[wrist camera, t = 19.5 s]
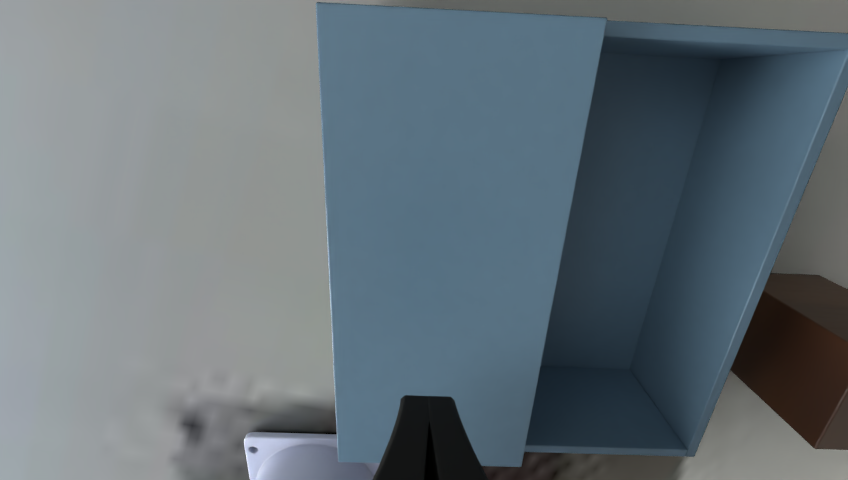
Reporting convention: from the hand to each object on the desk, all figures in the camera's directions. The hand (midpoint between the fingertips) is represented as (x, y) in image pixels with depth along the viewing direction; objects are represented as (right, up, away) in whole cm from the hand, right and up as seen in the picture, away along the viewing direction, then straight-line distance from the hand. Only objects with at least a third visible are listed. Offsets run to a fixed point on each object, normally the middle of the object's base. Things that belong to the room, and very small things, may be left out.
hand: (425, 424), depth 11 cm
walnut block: (+17, +1, +10) cm, 20 cm away
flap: (+1, +3, +2) cm, 4 cm away
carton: (+4, +6, +8) cm, 10 cm away
